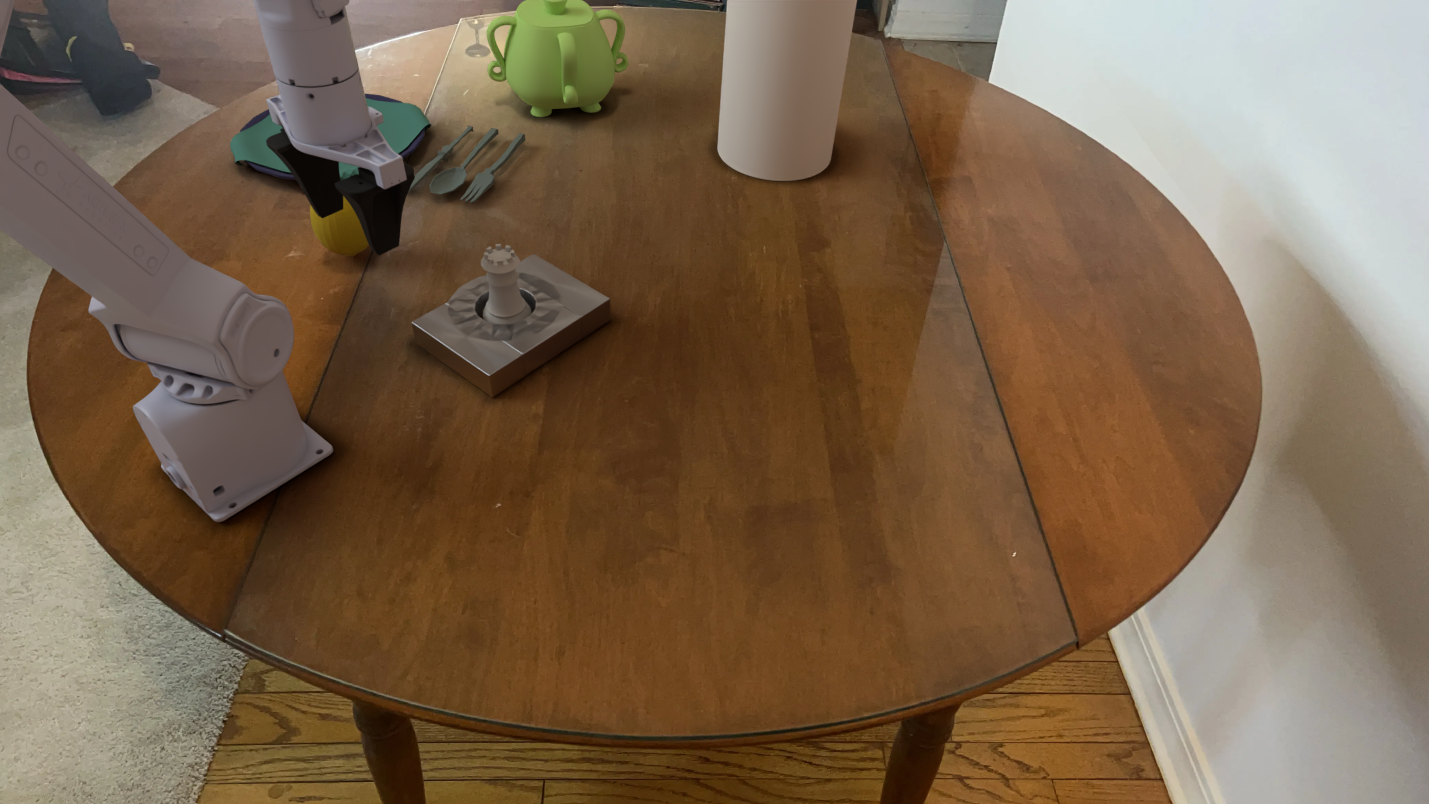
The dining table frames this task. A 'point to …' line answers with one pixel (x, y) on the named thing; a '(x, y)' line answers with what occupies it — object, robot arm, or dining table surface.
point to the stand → (511, 326)
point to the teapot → (558, 55)
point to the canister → (782, 85)
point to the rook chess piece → (503, 287)
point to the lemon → (340, 231)
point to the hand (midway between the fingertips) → (358, 230)
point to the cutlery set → (400, 133)
